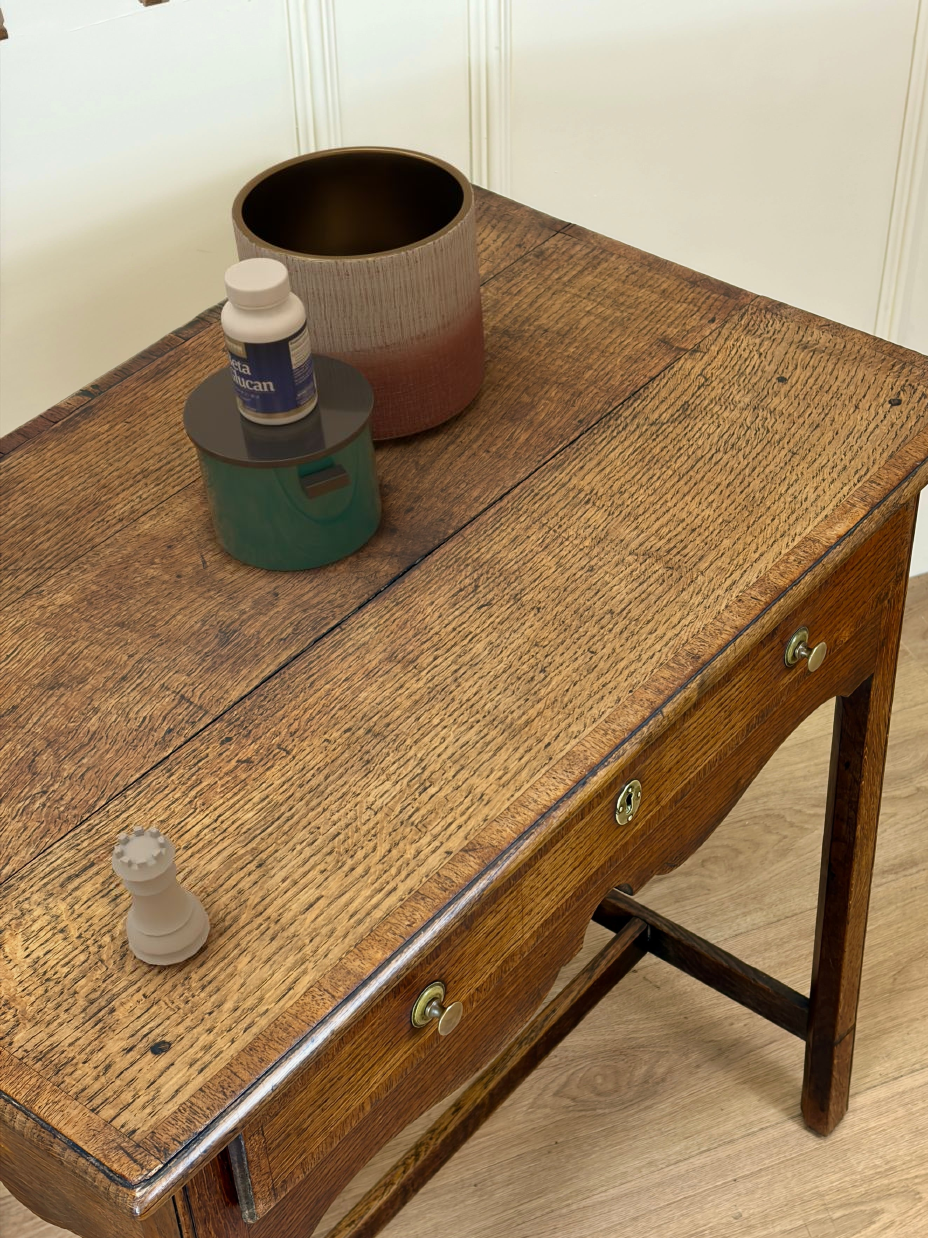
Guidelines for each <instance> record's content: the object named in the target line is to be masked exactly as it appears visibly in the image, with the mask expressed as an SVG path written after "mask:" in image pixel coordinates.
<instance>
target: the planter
mask: <svg viewBox="0 0 928 1238" xmlns="http://www.w3.org/2000/svg"><path fill="white" fill-rule="evenodd" d="M475 206H476V203H475V194H474V189H473V186H472V184H471V181H470V180H469V179H468V178H467V176H466V175H465V174H464V173H463V172H462V171H461V170H460V169H458V168H457V167H455V166H454V165H453V164H452V163H449V162H447V161H446V160H443V159H441V158H439V157H436V156H434V155H430V154H428V153H424V152H421V151H417V150H412V149H406V148H399V147H392V146H383V145H382V146H380V145H358V146H357V145H356V146H344V147H335V148H328V149H323V150H317V151H313V152H308V153H304V154H301V155H299V156H295V157H291V158H289V159H286V160H284V161H281V162H279V163H276V164H274V165H272V166H270V167H267V169H264V170H263V171H261V172H259V173H258V174H257V175H255V176H253V177H252V178H251V179H250V180H248V182H246V183H245V184H244V186H242V188H240V190H239V191H238V193H237V194H236V196H235V198H234V200H233V203H232V205H231V222H232V227H233V234H234V239H235V244H236V250H237V256H238V262H241V261H244V260H248V259H253V258H268V259H273V260H276V261H278V262H280V263H282V264H283V265H284V266H285V267H286V269H287V271H288V276H289V283H290V292H292V293H293V294H295V295H296V296H297V297H298V298H299V299H300V300H301V302H302V303H303V306H304V309H305V314H306V319H307V326H308V333H309V340H310V346H311V353H312V354H318V355H324V356H328V357H332V358H335V359H338V360H340V361H343V362H345V363H347V364H349V365H351V366H352V367H354V368H355V369H357V370H358V371H359V372H360V373H362V374H363V375H364V376H365V378H366V379H367V380H368V382H369V383H370V386H371V388H372V391H373V395H374V412H373V416H372V418H371V426H372V434H373V442H374V443H375V442H385V441H392V440H397V439H403V438H408V437H411V436H415V435H417V434H420V433H423V432H427V431H428V430H431V429H434V428H436V427H438V426H440V425H442V424H444V423H445V422H448V421H449V420H450V419H451V418H453V417H455V416H456V415H458V414H459V413H460V412H462V411H463V410H464V409H466V408H467V407H468V405H469V404H471V403H472V402H473V400H474V399H475V398H476V397H477V395H478V393H479V392H480V390H481V387H482V385H483V382H484V378H485V371H486V349H485V348H486V347H485V334H484V320H483V319H484V318H483V306H482V294H481V293H482V292H481V279H480V265H479V254H478V253H479V251H478V236H477V221H476V220H477V219H476V207H475Z"/></svg>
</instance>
